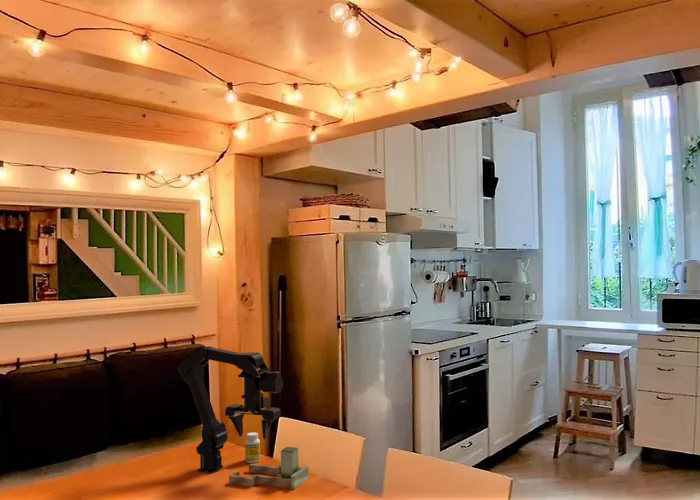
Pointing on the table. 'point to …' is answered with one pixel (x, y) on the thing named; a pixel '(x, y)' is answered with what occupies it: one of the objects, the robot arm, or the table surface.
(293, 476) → the trap lane
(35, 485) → the table surface
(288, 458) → the olive tin
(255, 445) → the supplement bottle
